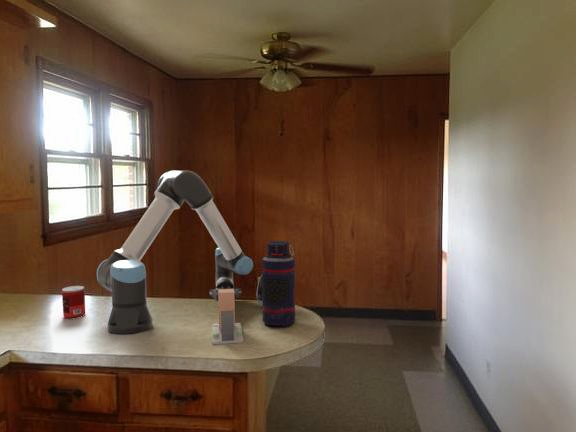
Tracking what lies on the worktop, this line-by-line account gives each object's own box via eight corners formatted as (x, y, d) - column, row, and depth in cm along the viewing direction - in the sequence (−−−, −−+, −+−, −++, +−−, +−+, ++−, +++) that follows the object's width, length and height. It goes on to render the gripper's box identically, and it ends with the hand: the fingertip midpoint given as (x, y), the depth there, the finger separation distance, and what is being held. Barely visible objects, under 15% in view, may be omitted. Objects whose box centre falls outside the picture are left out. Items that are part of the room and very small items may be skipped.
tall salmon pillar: (213, 330, 159) (212, 293, 158) (213, 325, 164) (212, 289, 163) (240, 329, 161) (240, 292, 159) (240, 324, 165) (239, 288, 164)
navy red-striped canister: (291, 329, 163) (291, 244, 160) (258, 327, 165) (257, 244, 163) (298, 317, 176) (298, 239, 174) (268, 316, 179) (267, 238, 176)
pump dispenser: (281, 309, 187) (281, 272, 186) (255, 309, 187) (254, 272, 186) (282, 302, 197) (281, 267, 196) (257, 302, 197) (257, 267, 196)
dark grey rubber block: (221, 341, 150) (221, 313, 149) (221, 338, 153) (220, 311, 152) (234, 340, 150) (233, 313, 150) (233, 337, 153) (233, 310, 152)
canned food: (89, 313, 184) (88, 285, 183) (78, 319, 176) (76, 290, 175) (70, 312, 185) (69, 285, 184) (59, 318, 177) (57, 290, 176)
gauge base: (212, 344, 149) (212, 338, 149) (212, 329, 164) (212, 323, 164) (243, 342, 151) (243, 336, 151) (240, 327, 166) (240, 321, 165)
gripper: (240, 295, 197) (244, 311, 174) (209, 297, 195) (209, 313, 172) (240, 278, 196) (244, 292, 173) (209, 279, 194) (208, 293, 171)
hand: (226, 302), depth 172 cm, fingers closed
